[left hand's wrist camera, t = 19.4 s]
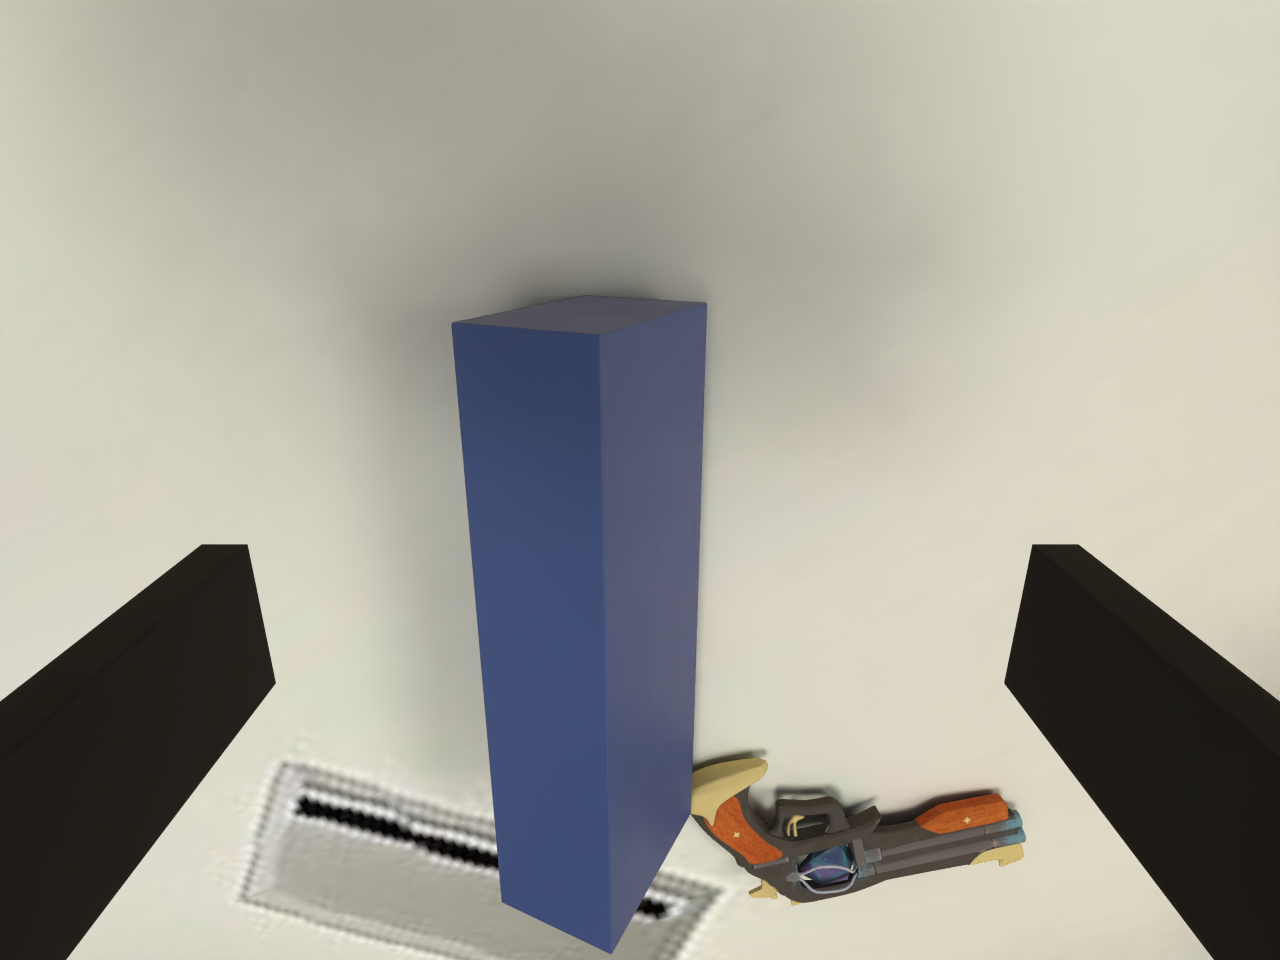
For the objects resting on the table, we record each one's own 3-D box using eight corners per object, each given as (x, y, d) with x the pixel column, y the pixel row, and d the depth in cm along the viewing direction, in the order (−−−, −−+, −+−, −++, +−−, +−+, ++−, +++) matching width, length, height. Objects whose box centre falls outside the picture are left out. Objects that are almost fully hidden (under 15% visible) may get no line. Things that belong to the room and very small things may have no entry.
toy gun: (675, 795, 40) (710, 944, 42) (1020, 719, 40) (1036, 873, 42) (670, 764, 43) (704, 907, 45) (994, 694, 43) (1011, 840, 45)
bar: (584, 295, 33) (450, 322, 26) (707, 302, 31) (600, 334, 23) (596, 777, 43) (501, 902, 35) (691, 812, 40) (611, 955, 33)
